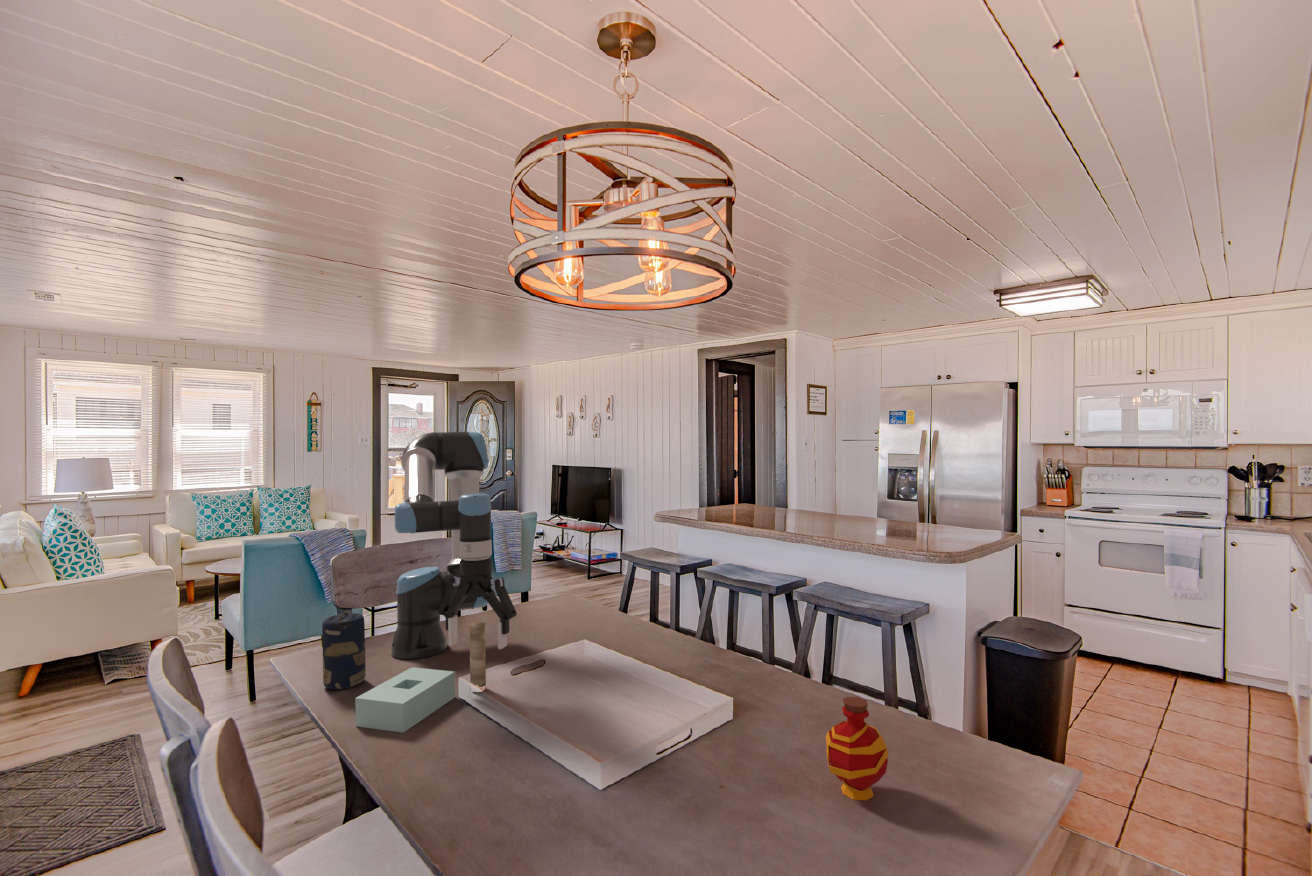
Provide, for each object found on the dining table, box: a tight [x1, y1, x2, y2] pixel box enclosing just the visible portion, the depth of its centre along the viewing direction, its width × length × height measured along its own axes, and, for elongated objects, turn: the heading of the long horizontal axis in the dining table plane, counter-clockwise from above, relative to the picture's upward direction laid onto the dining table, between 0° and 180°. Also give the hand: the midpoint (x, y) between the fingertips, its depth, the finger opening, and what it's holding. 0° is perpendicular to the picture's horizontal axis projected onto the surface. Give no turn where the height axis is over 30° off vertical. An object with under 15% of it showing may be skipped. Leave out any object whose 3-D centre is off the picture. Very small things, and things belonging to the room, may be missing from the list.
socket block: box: [354, 667, 456, 734], centre depth 135 cm, size 18×12×6 cm, turn 164°
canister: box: [321, 611, 367, 690], centre depth 151 cm, size 10×10×18 cm
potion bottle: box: [825, 696, 889, 801], centre depth 101 cm, size 10×10×15 cm
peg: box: [468, 621, 487, 687], centre depth 146 cm, size 4×4×16 cm
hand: (477, 645), depth 146 cm, fingers open, 13 cm apart
